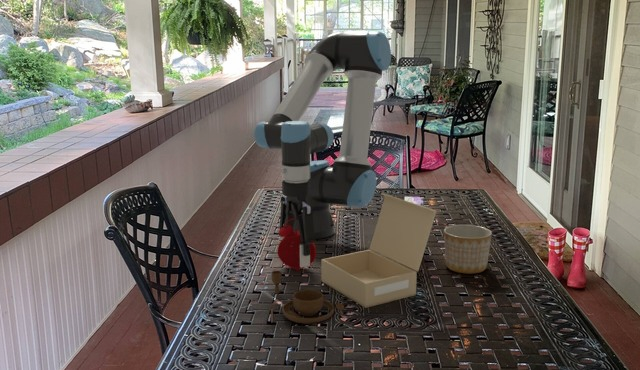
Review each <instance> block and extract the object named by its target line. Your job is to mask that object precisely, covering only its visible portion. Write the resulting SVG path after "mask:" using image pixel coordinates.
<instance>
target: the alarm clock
mask: <svg viewBox="0 0 640 370" xmlns="http://www.w3.org/2000/svg"><path fill="white" fill-rule="evenodd" d="M290 220H295V219H290ZM290 220H288V221H290ZM288 221H287V223H288ZM287 223H286V226H283V227H282V228H281V229H280V228H279V230H278V237H281V238H282V240H280V242H279V244H278V246H277V255H278V258H279V260H280V261H281V263H282V264H284V265H285V266H286V267H288V268H292V269H295V271H300V269H305V268H306V267H302V268H301V267H300V244H299V243H301V238H300V233H299V231H297V229H295V230H296V231H294V229H293V227H292V226H290V225H287ZM316 257H317V248H316V244H315V242H314V243H310V267H312V266H313V264H312V263H313V262H314V261H315V260H316Z"/></svg>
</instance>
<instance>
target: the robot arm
mask: <svg viewBox="0 0 640 370" xmlns="http://www.w3.org/2000/svg"><path fill="white" fill-rule="evenodd" d="M390 45H391V44H390V41H389V39H388V37H387V35H386V34H385V33H383V32H382V31H376V30H375V31H374V30H362V31H361V30H358V31H357V30H356V31H353V30H352V31H342V30H341V31H336V32H332V33H330V34H328V35H326V36H325V37H323V38H322V39H321V40H319V41H318V42H317V43H316V44H315V45H314V46H313V47H312V48H311V49H310V50H309V52H308V53H307V54H306V56H305V58H304V66H303V67H302V69H301V71H299V74H298V75H297V77H296V78H295V80H294V81H293V83H292V84H291V87H290V88H289V89H288V91H287V92H286V94H285V96H284V97H283V99H282V101H281V102H280V104H279V105H278V107H277V109H276V110H275V111H274V113H273V115H272V117H271V118H270V119H269V121H267V120H264V121H259V122H258V123H257V124H256V125H255V127H254V131H253V137H254V141H255V144H256V145H257V146H258V147H259V148H264V149H269V150H281V169H280V172H281V178H282V182H281V192H282V193H281V194H282V195H283V196H280V205H281V206H280V213H279V214H280V216H279V230H280V229H281V228H282V227H283V226H286V223H287V221H288V220H290V219H295V220H290V221H288V223H287V225H290V226H292V227H293V229H294V231H296V230H295V229H297V231H299V233H300V238H301V243H299V244H300V267H301V269H303V268H302V267H305V268H307V267H311V265H310V243H315V242H316V240H317V239H325V238H328V237H331V236H333V235H334V234H335V232H336V229H335V228H336V226H335V222H334V220H333V216H332V214H331V209H330V205H335V206H343V207H349V208H364V207H366V206H367V205H368V204H370V202H371V200H373V197H374V196H375V192H376V188H377V174H376V172H375V171H373V170H372V164H371V162H370V161H369V160H368V154H369V147H370V137H371V136H370V135H371V129H372V118H373V113H374V105H375V104H374V103H375V93H376V87H377V82H378V81H379V80H380V79H381V78H382V77H383V71H387V70H388V69H390V65H391V62H392V50H391V46H390ZM337 70H344V75H345V76H346V78H347V79H348V80H347V87H346V88H347V89H346V97H345V98H346V99H345V105H344V114H343V124H342V129H341V130H342V131H341V139H340V149H339V155H338V157H337V158H335V159H334V160H333V166H331V164H330V162H329V160H322V159H321V160H320V159H319V160H311V155H312V154H315V153H316V154H317V153H319V152H323V151H326V150H327V149H329V148H330V147H331V146H332V145H333V143H334V139H335V137H334V136H335V135H334V132H333V129H332V128H331V127H330V126H329V125H328V124H325V123H314V124H310V123H309V122H308V121H304V120H302V118H303V116H304V115H305V113H306V111H307V110H308V109H309V106H310V105H311V104H312V102H313V100H314V98H315V96H316V95H317V93H318V92H319V90H320V89H321V86H322V84H323V83H324V82H325V80H326V79H327V78H329V77H331V76H332V75H333V73H334V71H337Z"/></svg>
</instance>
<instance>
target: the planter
mask: <svg viewBox="0 0 640 370" xmlns="http://www.w3.org/2000/svg"><path fill="white" fill-rule="evenodd" d="M443 235H444V236H443V237H444V238H443V239H444V256H445V265H446V267H447V269H448V270H451V271H453V272H455V273H458V274H459V273H460V274H466V275H467V274H468V275H469V274H471V275H473V274H479V273H482V272H484V271H485V270H486V269H487V267H488V263H489V261H488V260H489V254H490V248H491V243H492V241H491V240H492V235H493V233H492V231H491V230H490V229H488V228H486V227H484V226H480V225H479V226H478V225H474V224H472V225H471V224H453V225H448V226H446V227H445V228H444V229H443Z"/></svg>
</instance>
